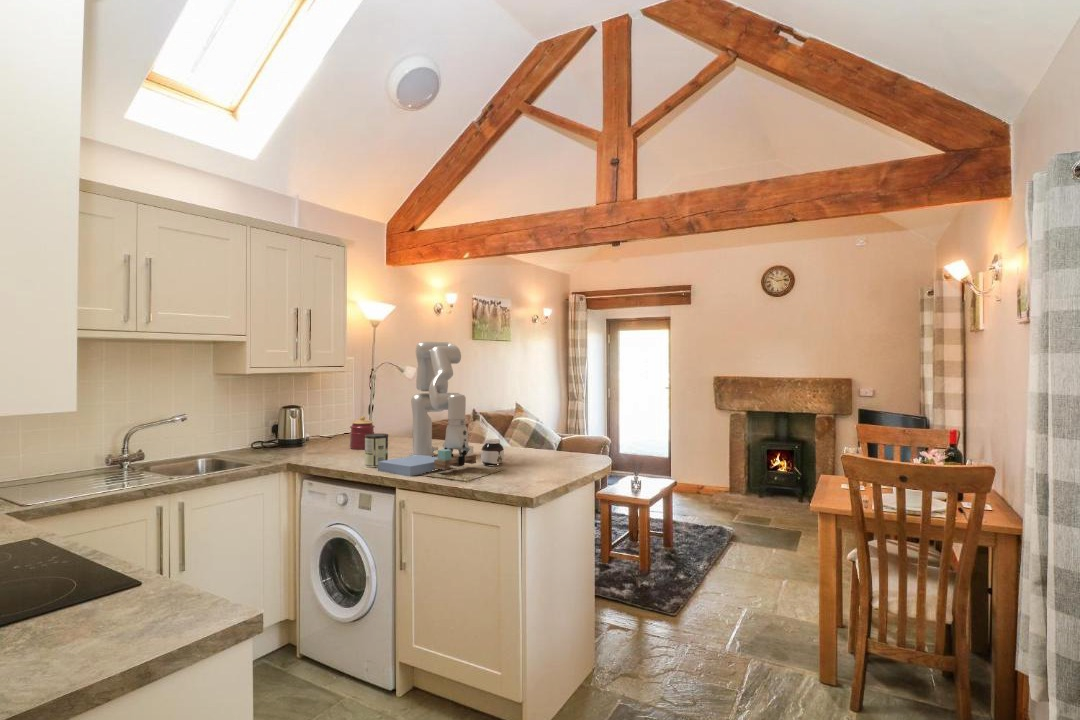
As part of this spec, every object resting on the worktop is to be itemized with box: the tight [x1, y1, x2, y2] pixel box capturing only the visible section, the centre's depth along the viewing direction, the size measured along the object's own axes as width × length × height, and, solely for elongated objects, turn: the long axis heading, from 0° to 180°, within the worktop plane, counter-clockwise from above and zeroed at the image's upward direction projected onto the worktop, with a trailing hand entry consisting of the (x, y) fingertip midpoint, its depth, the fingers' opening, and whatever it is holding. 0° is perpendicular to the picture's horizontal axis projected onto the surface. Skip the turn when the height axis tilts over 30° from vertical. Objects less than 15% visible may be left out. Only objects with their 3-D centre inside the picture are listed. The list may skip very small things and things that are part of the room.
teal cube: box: [437, 448, 451, 461], centre depth 239 cm, size 4×4×4 cm
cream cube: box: [461, 445, 474, 456], centre depth 250 cm, size 4×4×4 cm
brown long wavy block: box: [434, 454, 477, 471], centre depth 244 cm, size 20×6×4 cm, turn 145°
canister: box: [349, 415, 376, 450], centre depth 311 cm, size 13×13×18 cm
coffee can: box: [364, 433, 389, 468], centre depth 256 cm, size 10×10×14 cm
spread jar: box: [480, 438, 505, 466], centre depth 262 cm, size 12×11×12 cm
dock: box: [377, 455, 452, 477], centre depth 247 cm, size 24×20×4 cm
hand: (455, 463), depth 244 cm, fingers closed on brown long wavy block, 6 cm apart
